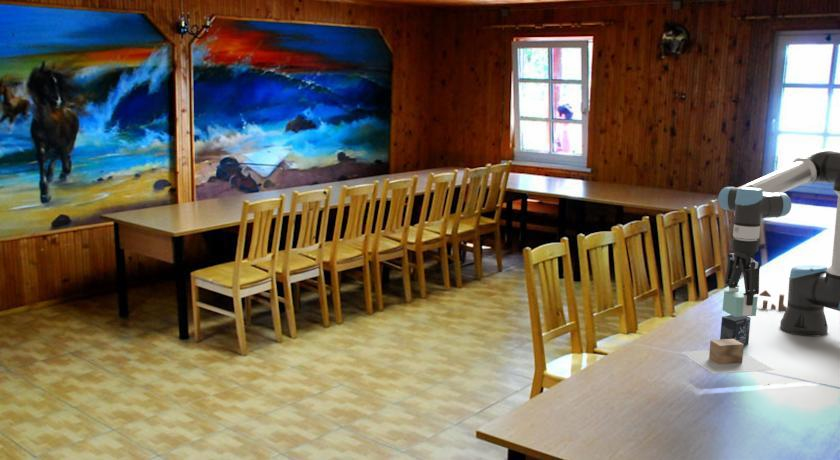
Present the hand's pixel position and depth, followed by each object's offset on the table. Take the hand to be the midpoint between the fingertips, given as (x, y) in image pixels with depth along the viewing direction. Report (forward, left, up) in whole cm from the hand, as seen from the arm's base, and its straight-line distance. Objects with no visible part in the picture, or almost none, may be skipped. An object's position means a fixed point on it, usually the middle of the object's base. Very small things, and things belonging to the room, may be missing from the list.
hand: (739, 311), depth 250 cm
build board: (+3, 0, -17) cm, 17 cm away
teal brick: (0, 0, 0) cm, 0 cm away
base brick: (+3, 0, -16) cm, 16 cm away
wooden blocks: (-47, -55, -18) cm, 74 cm away
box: (-8, -15, -17) cm, 24 cm away
